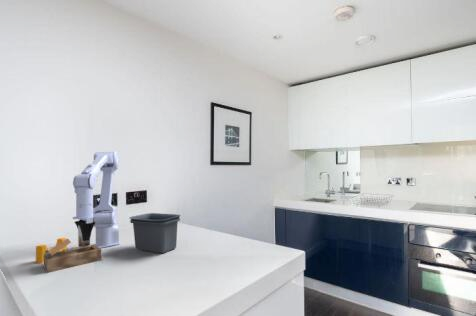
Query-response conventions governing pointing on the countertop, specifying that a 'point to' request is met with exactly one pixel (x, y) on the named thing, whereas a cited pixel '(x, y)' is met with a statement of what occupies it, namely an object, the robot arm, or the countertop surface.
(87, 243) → the peg
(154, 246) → the storage bin
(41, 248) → the pipe clamp
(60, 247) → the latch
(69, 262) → the wooden box
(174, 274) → the countertop surface
